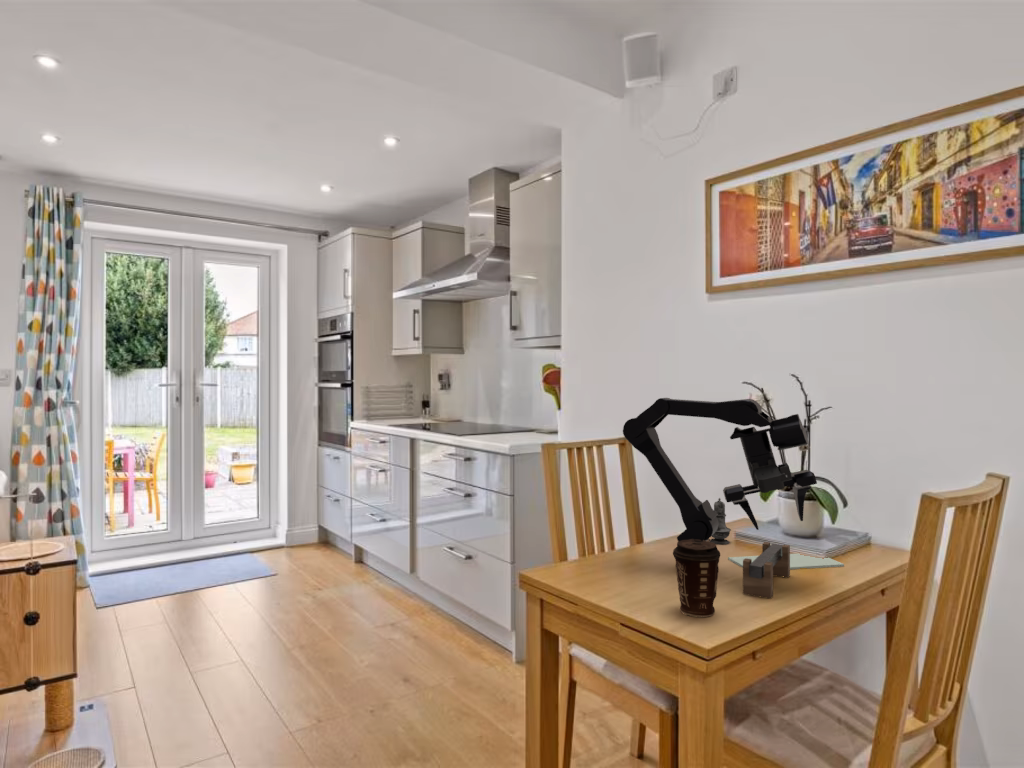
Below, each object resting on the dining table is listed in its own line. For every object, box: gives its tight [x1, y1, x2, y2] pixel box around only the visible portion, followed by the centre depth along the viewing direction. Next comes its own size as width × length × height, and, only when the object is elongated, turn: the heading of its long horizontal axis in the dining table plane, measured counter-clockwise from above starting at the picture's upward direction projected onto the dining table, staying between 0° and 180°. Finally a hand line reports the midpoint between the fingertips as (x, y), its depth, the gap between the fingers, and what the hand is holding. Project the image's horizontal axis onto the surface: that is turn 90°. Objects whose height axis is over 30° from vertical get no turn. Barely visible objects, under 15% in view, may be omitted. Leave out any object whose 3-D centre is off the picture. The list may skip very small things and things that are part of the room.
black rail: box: [749, 543, 784, 579], centre depth 135 cm, size 20×2×2 cm, turn 145°
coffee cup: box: [672, 539, 721, 618], centre depth 119 cm, size 9×8×13 cm
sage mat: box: [727, 553, 845, 570], centre depth 150 cm, size 24×10×1 cm, turn 100°
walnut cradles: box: [742, 541, 791, 599], centre depth 135 cm, size 18×5×7 cm, turn 145°
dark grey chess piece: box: [708, 497, 732, 546], centre depth 169 cm, size 6×6×12 cm
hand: (779, 525), depth 135 cm, fingers open, 9 cm apart
